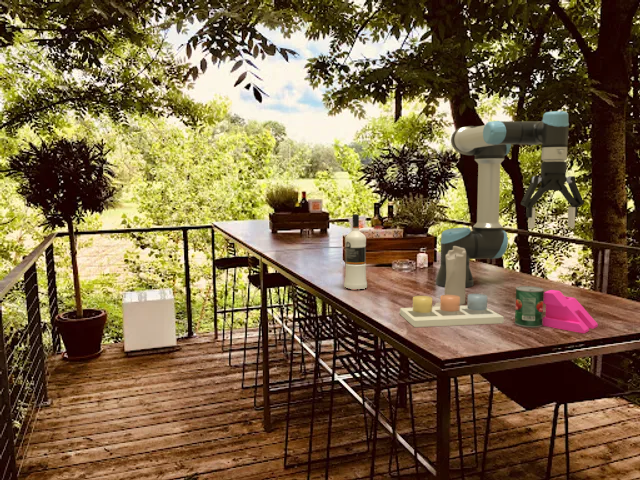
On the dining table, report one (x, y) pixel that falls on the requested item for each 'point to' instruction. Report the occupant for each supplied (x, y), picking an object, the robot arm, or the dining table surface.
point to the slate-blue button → (477, 302)
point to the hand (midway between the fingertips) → (551, 227)
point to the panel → (451, 317)
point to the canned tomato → (529, 306)
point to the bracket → (566, 313)
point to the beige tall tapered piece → (455, 274)
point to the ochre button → (422, 304)
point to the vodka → (355, 257)
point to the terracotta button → (450, 303)
